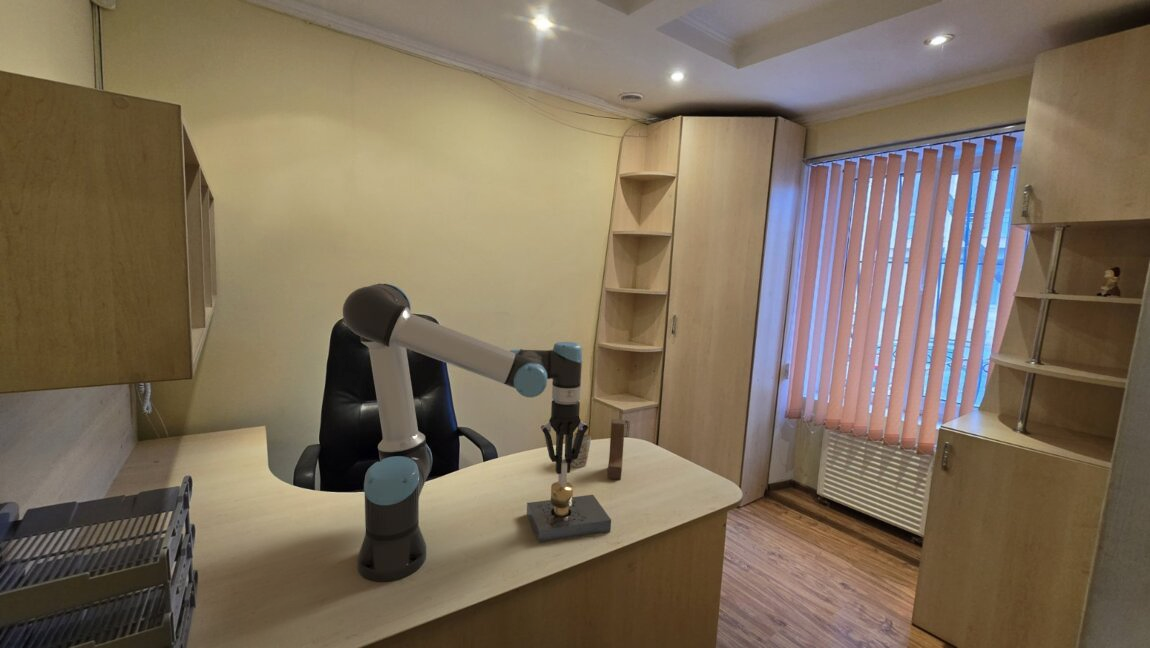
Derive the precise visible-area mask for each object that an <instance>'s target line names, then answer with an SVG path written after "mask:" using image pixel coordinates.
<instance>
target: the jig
mask: <svg viewBox="0 0 1150 648" xmlns="http://www.w3.org/2000/svg"><path fill="white" fill-rule="evenodd" d="M526 516H527V519H528V520H529V523H530V526H531V528H532V532H534V535H535V538H536V541H537V543H538V544H542V543H547V542H548V543H549V542H553V541H554V542H555V541H561V540H567V539H573V538H574V539H575V538H581V537H586V536H593V535H599V534H606V533H611V532H612V531H611V528H612V527H611V526H612V519H611V517H610V516H609V515H608V513H607V512H606V511H605V509H604V508H603V506H602V505H601V504H600V502H599V501H598V500H597V498H596V497H595V495H594V494H586V495H585V494H584V495H578V496H577V495H576V496H573V502H572V505H571V506H569V510H568V517H564V518H559V517H555V516H554V506H553V505H552V504H551V499H548V500H540V501H538V500H537V501H532V502H530V501H529V502H527V503H526Z"/></svg>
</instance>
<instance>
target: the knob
mask: <svg viewBox="0 0 1150 648" xmlns="http://www.w3.org/2000/svg"><path fill="white" fill-rule="evenodd" d="M550 486H551V487H550V500H551V504H552V505H553V506H554V516H555V517H559V518H564V517H568V510H569V506H571V505H572V502H573V497H574V485H573V484H572V483H570V482H568V481H567V483H566V486H562V487H561V486H560V484H559V482H558V481H555V482H553V483H552V484H551V485H550Z"/></svg>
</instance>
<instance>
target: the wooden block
mask: <svg viewBox="0 0 1150 648" xmlns="http://www.w3.org/2000/svg"><path fill="white" fill-rule="evenodd" d="M625 426H626V421H625V419H618V418H612V420H611V424H610V439H609V458H608V465H607V466H608V467H607V479H610V480H611V479H612V480H622V472H623V458H624V443H625V442H624V441H625V429H626V428H625Z"/></svg>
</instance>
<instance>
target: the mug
mask: <svg viewBox="0 0 1150 648" xmlns="http://www.w3.org/2000/svg"><path fill="white" fill-rule="evenodd" d="M576 434H577V432H573V438H572V448H573V444H574V441H575V437H576ZM591 441H592V437H591V435H589V434H587V433H585V434H584V437H583V441H582V444H581V448H580V451H579V455H578V458H577V459H576V460H575V459H574V460H572V463H571V466H572V467H574V468H584V467H586V466H587V463H588V458H589V452H590V448H591ZM571 466H570V467H571Z"/></svg>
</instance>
